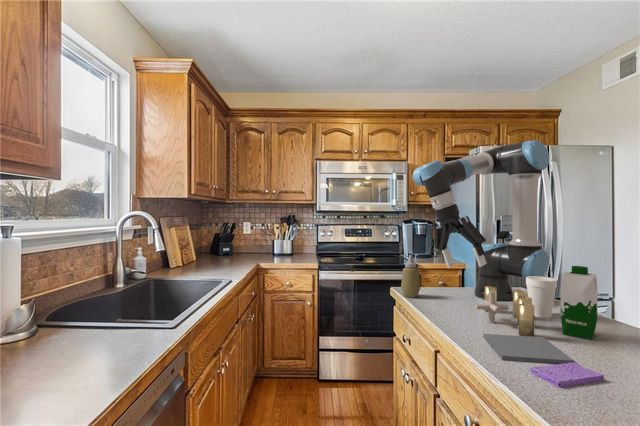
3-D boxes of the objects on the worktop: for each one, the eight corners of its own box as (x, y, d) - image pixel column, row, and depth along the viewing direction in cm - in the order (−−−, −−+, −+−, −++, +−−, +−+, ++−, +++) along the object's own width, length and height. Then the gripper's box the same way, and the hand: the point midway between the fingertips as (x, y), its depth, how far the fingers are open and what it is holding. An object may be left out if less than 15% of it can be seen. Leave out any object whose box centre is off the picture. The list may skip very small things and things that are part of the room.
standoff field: (516, 311, 129) (516, 286, 129) (556, 339, 100) (556, 308, 100) (483, 309, 131) (483, 285, 131) (512, 336, 102) (512, 305, 102)
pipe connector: (501, 317, 121) (501, 288, 121) (514, 327, 111) (514, 295, 111) (471, 316, 122) (471, 288, 122) (481, 325, 112) (481, 294, 112)
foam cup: (557, 320, 118) (557, 282, 118) (525, 316, 123) (525, 279, 123) (555, 313, 126) (556, 277, 126) (526, 309, 131) (526, 275, 131)
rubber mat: (543, 340, 99) (543, 337, 99) (574, 364, 83) (574, 360, 83) (483, 337, 102) (483, 333, 102) (502, 359, 86) (502, 355, 86)
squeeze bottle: (401, 298, 148) (401, 255, 148) (400, 293, 156) (400, 253, 156) (421, 299, 147) (421, 256, 147) (419, 294, 155) (419, 254, 155)
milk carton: (598, 334, 105) (598, 267, 105) (595, 342, 98) (595, 271, 98) (563, 327, 111) (563, 264, 111) (558, 334, 104) (558, 267, 104)
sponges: (530, 375, 79) (530, 366, 79) (573, 369, 82) (573, 361, 82) (558, 390, 72) (558, 381, 72) (604, 383, 75) (604, 374, 75)
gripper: (412, 215, 127) (432, 270, 127) (465, 201, 105) (490, 268, 104) (427, 209, 131) (447, 263, 130) (482, 195, 108) (506, 260, 107)
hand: (466, 266), depth 117 cm, fingers open, 13 cm apart
